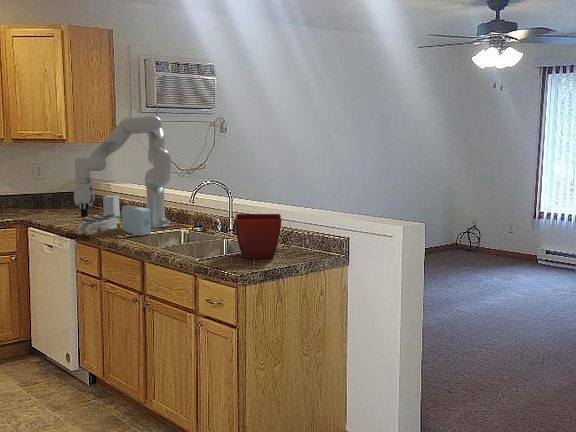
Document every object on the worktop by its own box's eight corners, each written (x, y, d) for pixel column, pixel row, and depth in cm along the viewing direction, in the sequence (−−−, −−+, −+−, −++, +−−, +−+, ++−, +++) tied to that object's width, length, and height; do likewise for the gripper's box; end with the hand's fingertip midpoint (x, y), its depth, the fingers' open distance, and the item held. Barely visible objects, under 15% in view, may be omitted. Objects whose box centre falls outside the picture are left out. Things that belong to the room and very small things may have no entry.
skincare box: (114, 224, 386) (113, 196, 384) (103, 224, 387) (102, 196, 385) (120, 222, 394) (119, 195, 392) (109, 222, 396) (108, 195, 394)
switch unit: (127, 227, 373) (127, 218, 373) (96, 235, 350) (95, 225, 349) (106, 226, 379) (106, 217, 378) (74, 233, 355) (73, 223, 355)
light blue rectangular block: (121, 230, 364) (120, 205, 362) (131, 229, 367) (130, 205, 366) (140, 236, 345) (139, 210, 344) (151, 235, 349) (150, 209, 347)
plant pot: (280, 251, 302) (280, 213, 300) (281, 260, 283) (281, 219, 281) (236, 252, 301) (236, 213, 299) (235, 260, 282) (234, 219, 280)
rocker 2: (105, 221, 365) (106, 217, 364) (101, 221, 361) (101, 218, 361) (96, 218, 367) (96, 214, 367) (92, 219, 364) (92, 215, 363)
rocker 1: (95, 223, 357) (96, 219, 357) (91, 224, 354) (91, 220, 354) (86, 220, 360) (86, 216, 359) (81, 221, 356) (82, 217, 356)
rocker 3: (115, 217, 372) (114, 213, 372) (110, 218, 369) (110, 214, 368) (106, 218, 374) (105, 214, 374) (101, 219, 371) (101, 215, 371)
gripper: (99, 181, 355) (100, 216, 358) (76, 180, 361) (78, 215, 364) (89, 182, 349) (91, 218, 351) (66, 181, 355) (68, 217, 357)
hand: (84, 216), depth 357 cm, fingers closed
